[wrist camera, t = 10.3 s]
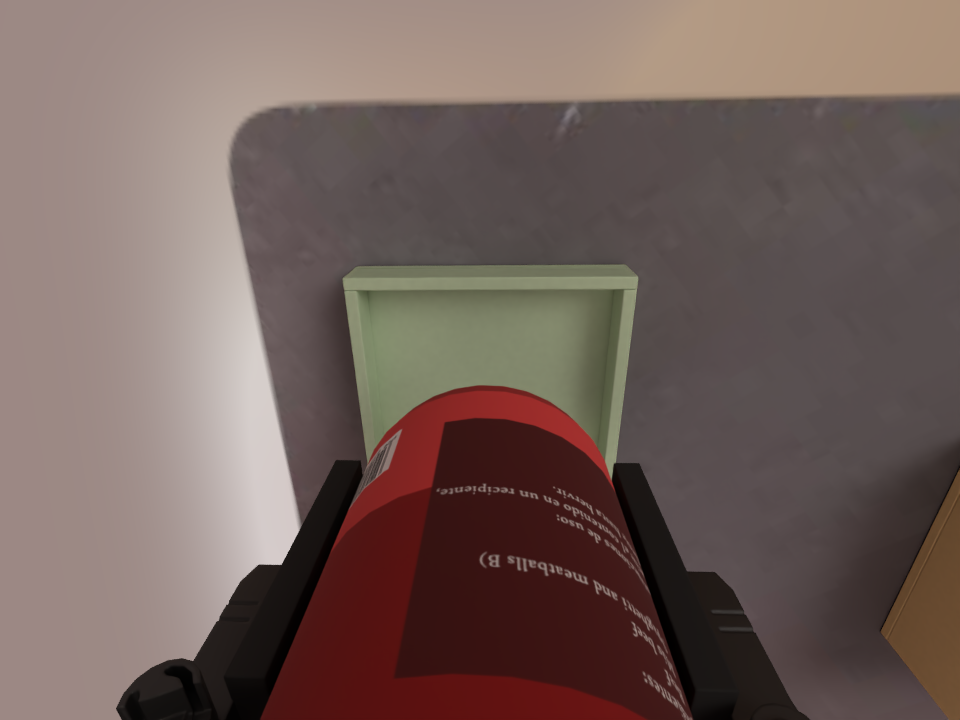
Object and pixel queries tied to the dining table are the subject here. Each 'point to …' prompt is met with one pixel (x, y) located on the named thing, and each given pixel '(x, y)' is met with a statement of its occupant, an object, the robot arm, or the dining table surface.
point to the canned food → (482, 580)
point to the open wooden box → (933, 610)
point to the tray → (492, 339)
